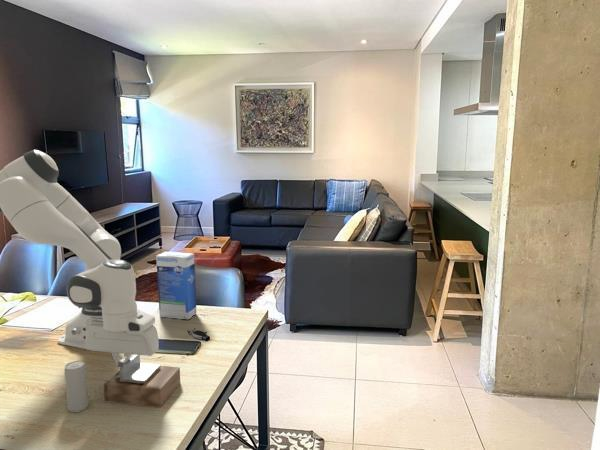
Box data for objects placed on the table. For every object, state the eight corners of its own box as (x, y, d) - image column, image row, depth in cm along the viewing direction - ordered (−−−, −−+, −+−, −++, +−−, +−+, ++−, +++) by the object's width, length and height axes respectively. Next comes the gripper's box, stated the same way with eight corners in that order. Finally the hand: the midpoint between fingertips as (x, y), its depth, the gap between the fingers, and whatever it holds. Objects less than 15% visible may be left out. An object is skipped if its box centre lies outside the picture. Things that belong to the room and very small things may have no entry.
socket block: (105, 401, 117) (103, 383, 117) (129, 378, 129) (128, 362, 128) (161, 407, 115) (160, 389, 114) (180, 383, 127) (179, 367, 126)
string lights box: (197, 314, 180) (195, 253, 176) (188, 321, 173) (186, 257, 168) (168, 311, 183) (165, 251, 179) (158, 317, 176) (155, 255, 171)
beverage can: (72, 402, 117) (69, 360, 115) (91, 402, 117) (88, 360, 115) (64, 413, 112) (60, 369, 110) (84, 412, 112) (80, 369, 110)
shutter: (120, 381, 117) (119, 368, 117) (137, 365, 126) (137, 352, 126) (144, 383, 116) (144, 370, 116) (160, 367, 125) (159, 354, 125)
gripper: (78, 320, 118) (81, 368, 120) (148, 326, 114) (151, 375, 117) (92, 312, 124) (96, 358, 126) (160, 317, 121) (162, 364, 123)
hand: (123, 366), depth 121 cm, fingers closed
